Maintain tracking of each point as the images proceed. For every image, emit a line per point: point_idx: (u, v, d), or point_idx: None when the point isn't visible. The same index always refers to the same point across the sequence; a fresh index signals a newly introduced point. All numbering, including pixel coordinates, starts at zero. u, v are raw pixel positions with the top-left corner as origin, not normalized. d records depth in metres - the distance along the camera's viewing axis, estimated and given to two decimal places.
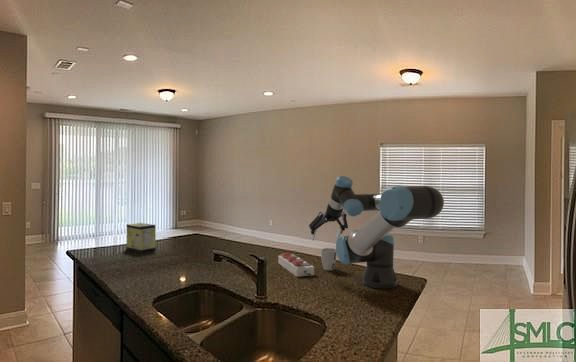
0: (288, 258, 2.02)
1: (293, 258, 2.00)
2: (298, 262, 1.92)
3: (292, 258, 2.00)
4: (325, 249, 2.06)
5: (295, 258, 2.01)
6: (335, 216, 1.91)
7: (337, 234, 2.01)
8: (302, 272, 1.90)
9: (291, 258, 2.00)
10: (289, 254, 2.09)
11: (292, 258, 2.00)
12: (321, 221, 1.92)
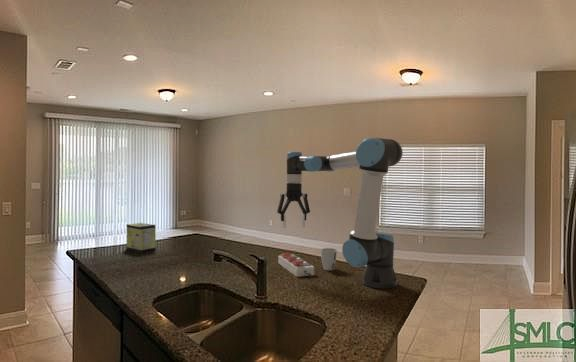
0: (288, 258, 2.02)
1: (293, 258, 2.00)
2: (298, 262, 1.92)
3: (292, 258, 2.00)
4: (325, 249, 2.06)
5: (295, 258, 2.01)
6: (296, 194, 1.99)
7: (302, 222, 2.01)
8: (302, 272, 1.90)
9: (291, 258, 2.00)
10: (289, 254, 2.09)
11: (292, 258, 2.00)
12: (286, 203, 1.98)
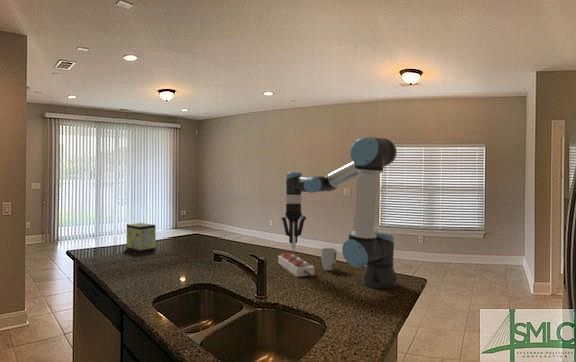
0: (288, 258, 2.02)
1: (293, 258, 2.00)
2: (298, 262, 1.92)
3: (292, 258, 2.00)
4: (325, 249, 2.06)
5: (295, 258, 2.01)
6: (297, 214, 1.99)
7: None
8: (302, 272, 1.90)
9: (291, 258, 2.00)
10: (289, 254, 2.09)
11: (292, 258, 2.00)
12: (290, 225, 1.99)
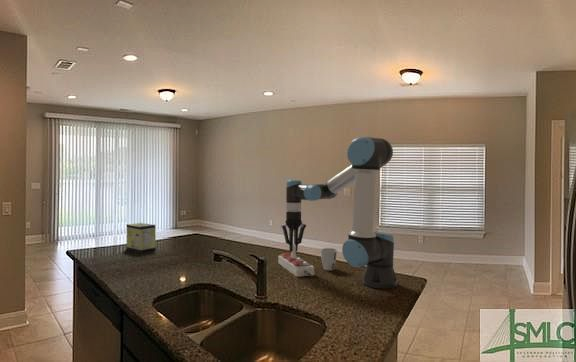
0: (288, 258, 2.02)
1: (293, 258, 2.00)
2: (298, 262, 1.92)
3: (292, 258, 2.00)
4: (325, 249, 2.06)
5: (295, 258, 2.01)
6: (297, 222, 1.99)
7: None
8: (302, 272, 1.90)
9: (291, 258, 2.00)
10: (289, 254, 2.09)
11: (292, 258, 2.00)
12: (290, 233, 1.99)
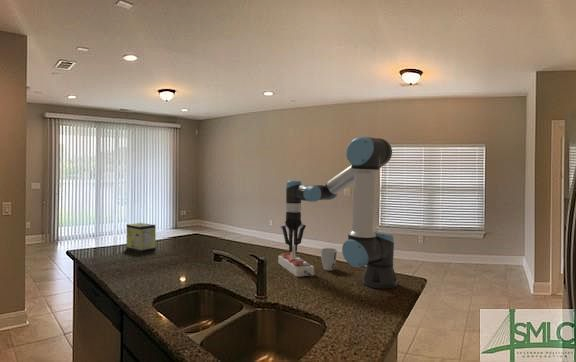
0: (288, 258, 2.02)
1: (293, 260, 2.00)
2: (298, 262, 1.92)
3: (292, 260, 2.00)
4: (325, 249, 2.06)
5: (295, 260, 2.01)
6: (296, 223, 1.99)
7: None
8: (302, 272, 1.90)
9: (291, 260, 2.00)
10: (289, 254, 2.09)
11: None
12: (289, 234, 1.99)
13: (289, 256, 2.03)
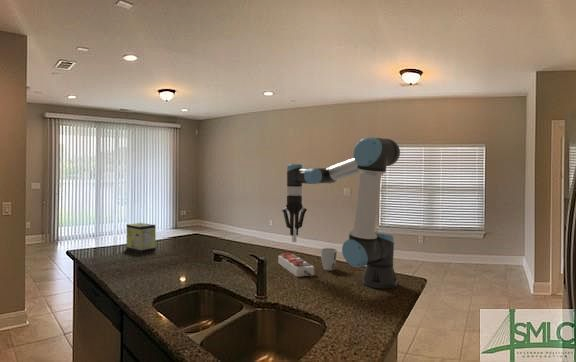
0: (288, 258, 2.02)
1: (293, 260, 2.00)
2: (298, 262, 1.92)
3: (292, 260, 2.00)
4: (325, 249, 2.06)
5: (295, 260, 2.01)
6: (297, 206, 1.99)
7: None
8: (302, 272, 1.90)
9: (291, 260, 2.00)
10: (289, 254, 2.09)
11: None
12: (290, 217, 1.99)
13: (289, 256, 2.03)
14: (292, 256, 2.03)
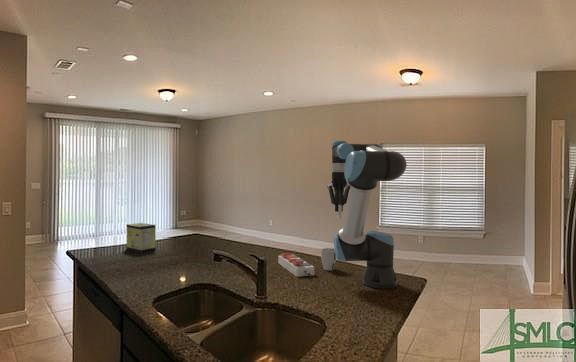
0: (288, 258, 2.02)
1: (293, 260, 2.00)
2: (298, 262, 1.92)
3: (292, 260, 2.00)
4: (325, 249, 2.06)
5: (295, 260, 2.01)
6: (342, 183, 2.01)
7: None
8: (302, 272, 1.90)
9: (291, 260, 2.00)
10: (289, 254, 2.09)
11: (292, 260, 2.00)
12: (335, 194, 2.01)
13: (289, 256, 2.03)
14: (292, 256, 2.03)
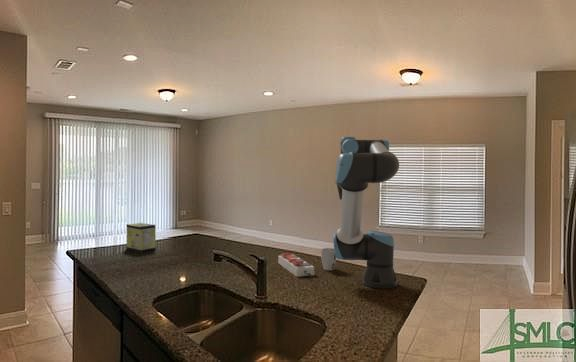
0: (288, 258, 2.02)
1: (293, 260, 2.00)
2: (298, 262, 1.92)
3: (292, 260, 2.00)
4: (325, 249, 2.06)
5: (295, 260, 2.01)
6: None
7: None
8: (302, 272, 1.90)
9: (291, 260, 2.00)
10: (289, 254, 2.09)
11: (292, 260, 2.00)
12: None
13: (289, 256, 2.03)
14: (292, 256, 2.03)
